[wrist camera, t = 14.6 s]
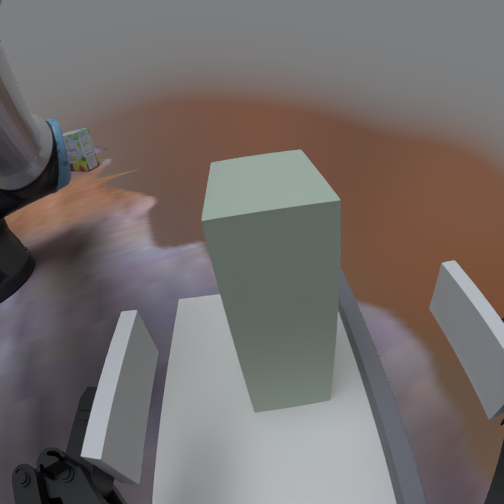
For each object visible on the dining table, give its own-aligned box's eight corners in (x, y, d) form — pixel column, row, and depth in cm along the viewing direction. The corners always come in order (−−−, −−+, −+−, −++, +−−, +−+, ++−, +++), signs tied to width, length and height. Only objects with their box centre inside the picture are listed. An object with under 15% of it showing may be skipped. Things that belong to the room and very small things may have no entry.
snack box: (66, 171, 106) (55, 137, 98) (77, 166, 110) (67, 131, 101) (87, 172, 95) (75, 131, 87) (100, 165, 99) (89, 126, 90)
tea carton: (254, 412, 19) (201, 220, 11) (248, 335, 25) (211, 162, 17) (330, 400, 19) (342, 200, 11) (310, 325, 24) (301, 149, 17)
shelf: (187, 321, 31) (174, 287, 29) (340, 299, 31) (342, 263, 28) (168, 569, 11) (137, 569, 9) (414, 542, 11) (440, 536, 8)
